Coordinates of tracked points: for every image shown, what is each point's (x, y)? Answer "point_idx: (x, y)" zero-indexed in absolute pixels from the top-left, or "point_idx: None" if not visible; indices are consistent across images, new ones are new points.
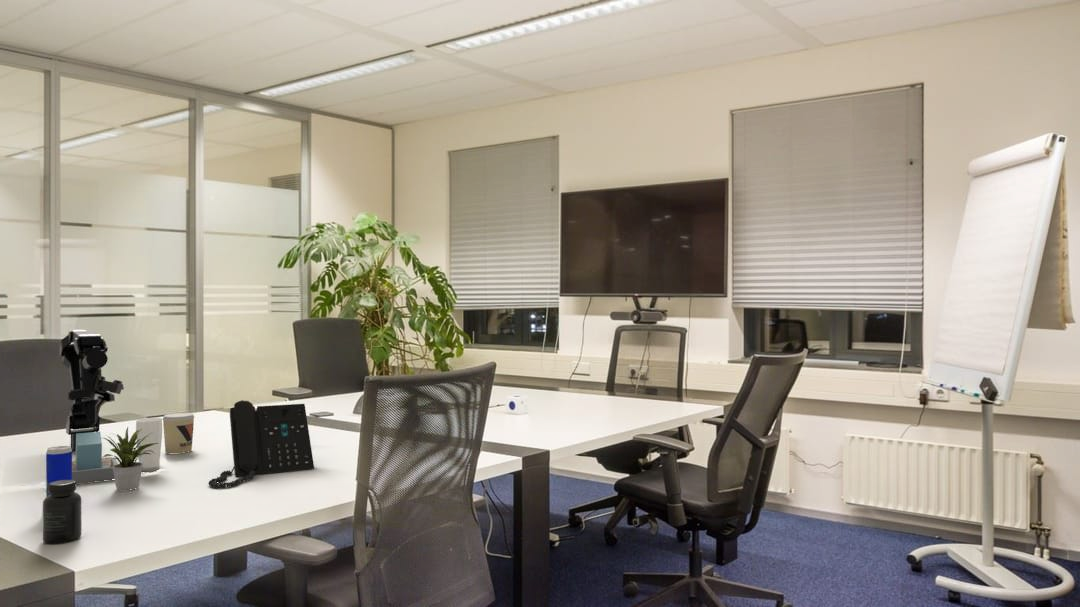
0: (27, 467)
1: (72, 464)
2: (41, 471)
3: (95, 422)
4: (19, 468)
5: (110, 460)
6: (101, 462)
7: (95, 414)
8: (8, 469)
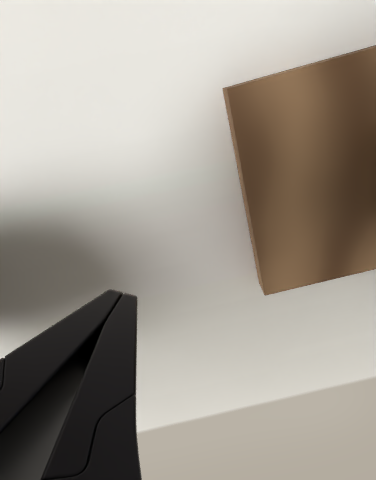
0: (204, 379)
1: (332, 243)
2: (298, 325)
3: (122, 297)
4: (212, 393)
5: (322, 75)
6: (355, 116)
7: (121, 366)
8: (216, 413)
